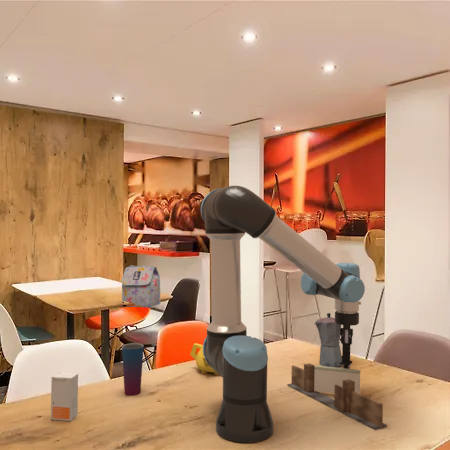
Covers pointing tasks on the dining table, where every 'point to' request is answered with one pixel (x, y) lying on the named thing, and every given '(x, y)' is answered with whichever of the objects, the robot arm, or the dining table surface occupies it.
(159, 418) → the dining table surface
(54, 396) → the skincare box
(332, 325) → the moka pot
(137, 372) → the cup
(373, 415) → the fence
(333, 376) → the beige flat panel
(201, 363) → the teapot
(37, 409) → the dining table surface
